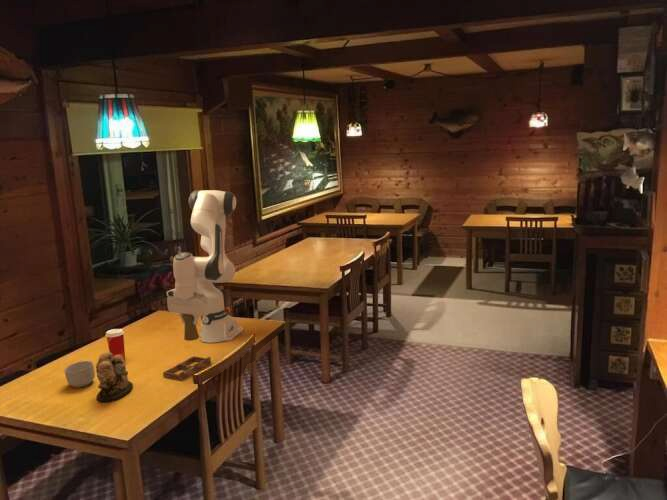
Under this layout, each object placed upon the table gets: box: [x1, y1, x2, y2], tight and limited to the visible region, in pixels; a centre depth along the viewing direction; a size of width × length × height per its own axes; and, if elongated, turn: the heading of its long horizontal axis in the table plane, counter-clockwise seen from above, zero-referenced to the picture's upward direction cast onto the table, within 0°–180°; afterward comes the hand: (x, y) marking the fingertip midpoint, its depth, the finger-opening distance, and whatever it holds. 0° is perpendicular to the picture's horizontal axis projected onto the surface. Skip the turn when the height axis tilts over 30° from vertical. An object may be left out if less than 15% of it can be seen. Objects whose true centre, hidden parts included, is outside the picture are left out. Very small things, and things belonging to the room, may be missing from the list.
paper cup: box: [105, 328, 126, 362], centre depth 247 cm, size 8×8×14 cm
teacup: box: [63, 359, 96, 388], centre depth 227 cm, size 14×11×8 cm
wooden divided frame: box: [162, 355, 212, 382], centre depth 235 cm, size 18×10×4 cm, turn 152°
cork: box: [183, 314, 200, 342], centre depth 235 cm, size 6×6×11 cm
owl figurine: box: [95, 351, 134, 403], centre depth 215 cm, size 18×12×17 cm, turn 177°
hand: (190, 323), depth 235 cm, fingers closed on cork, 4 cm apart
